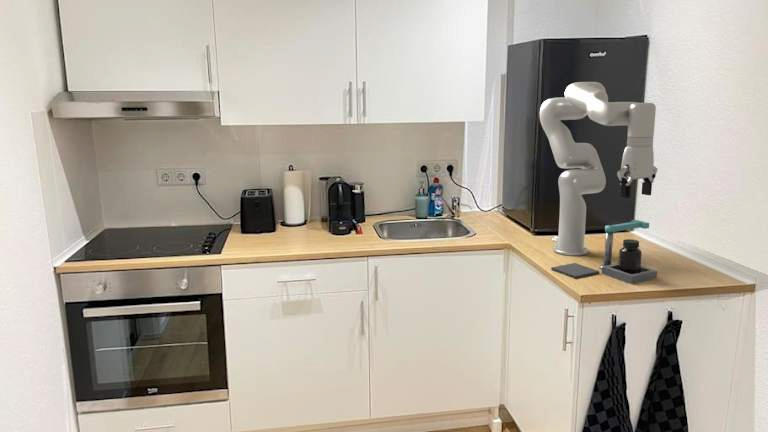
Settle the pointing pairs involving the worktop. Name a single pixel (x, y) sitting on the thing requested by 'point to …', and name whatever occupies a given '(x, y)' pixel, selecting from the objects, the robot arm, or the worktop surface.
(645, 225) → the latch bar
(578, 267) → the rubber mat
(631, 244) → the supplement bottle
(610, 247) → the latch post
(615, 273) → the bottle holder
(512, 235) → the worktop surface
